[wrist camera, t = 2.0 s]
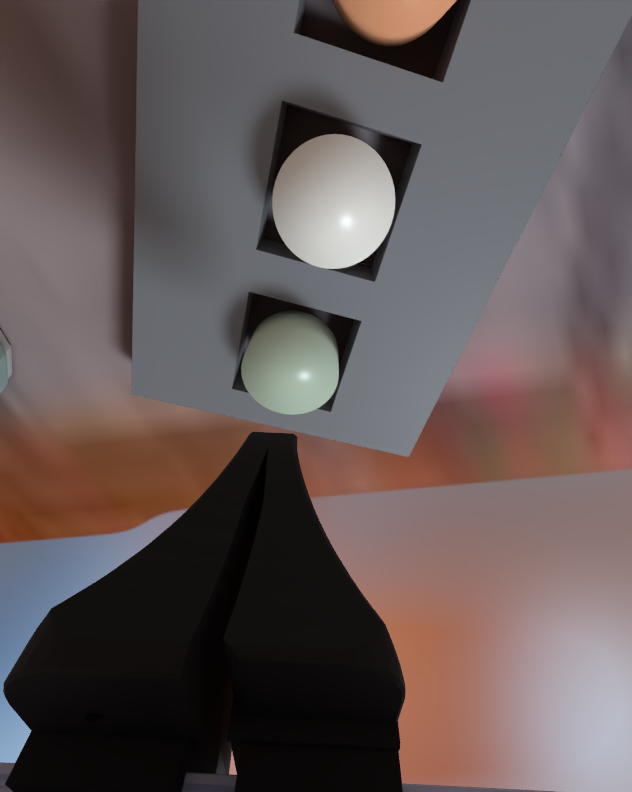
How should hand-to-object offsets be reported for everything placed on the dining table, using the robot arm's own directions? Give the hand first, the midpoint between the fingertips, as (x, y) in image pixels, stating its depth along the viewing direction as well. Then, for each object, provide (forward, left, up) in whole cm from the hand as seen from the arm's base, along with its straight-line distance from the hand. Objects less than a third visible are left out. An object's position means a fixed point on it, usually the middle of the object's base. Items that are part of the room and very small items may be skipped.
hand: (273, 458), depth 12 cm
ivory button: (0, -7, -7) cm, 10 cm away
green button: (0, 0, -7) cm, 7 cm away
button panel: (0, -7, -9) cm, 11 cm away
